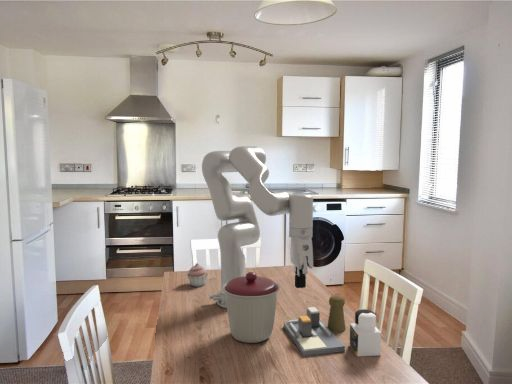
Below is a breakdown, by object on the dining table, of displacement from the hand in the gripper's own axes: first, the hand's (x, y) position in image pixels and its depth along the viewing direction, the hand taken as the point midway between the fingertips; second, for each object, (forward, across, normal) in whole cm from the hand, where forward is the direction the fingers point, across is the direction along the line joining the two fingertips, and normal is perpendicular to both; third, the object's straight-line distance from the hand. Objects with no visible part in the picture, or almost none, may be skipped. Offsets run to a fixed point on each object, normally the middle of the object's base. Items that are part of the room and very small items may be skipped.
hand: (300, 287), depth 132 cm
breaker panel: (+15, -6, -2) cm, 16 cm away
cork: (+15, -1, -13) cm, 20 cm away
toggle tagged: (+13, -6, 0) cm, 14 cm away
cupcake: (+15, +54, +30) cm, 63 cm away
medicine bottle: (+15, -17, -15) cm, 27 cm away
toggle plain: (+13, 0, -5) cm, 14 cm away
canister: (+15, 0, +16) cm, 22 cm away
